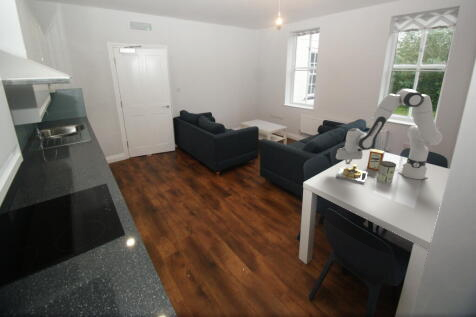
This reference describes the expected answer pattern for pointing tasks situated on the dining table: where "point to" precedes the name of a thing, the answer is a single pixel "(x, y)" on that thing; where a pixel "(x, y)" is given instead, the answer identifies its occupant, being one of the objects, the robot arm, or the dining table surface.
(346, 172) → the ring nut
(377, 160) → the baking soda box
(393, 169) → the coffee can
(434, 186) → the dining table surface
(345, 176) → the base plate
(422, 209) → the dining table surface
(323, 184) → the dining table surface
